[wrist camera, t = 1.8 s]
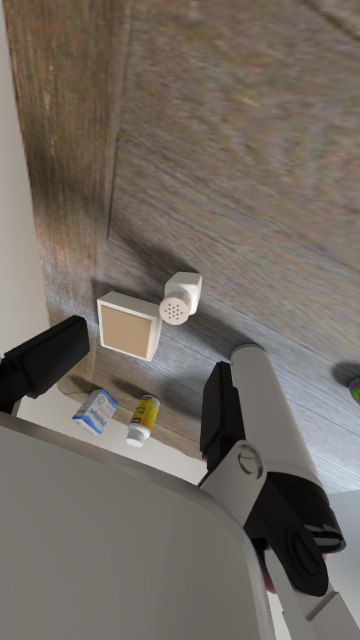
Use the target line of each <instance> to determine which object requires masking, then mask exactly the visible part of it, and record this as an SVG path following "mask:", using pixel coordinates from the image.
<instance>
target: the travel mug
mask: <svg viewBox="0 0 360 640" xmlns="http://www.w3.org/2000/svg"><path fill="white" fill-rule="evenodd" d="M230 358H231V367H232V376H233V385H234V387H236V388H237V389H238V392H239V398H240V404H241V410H242V417H243V423H244V429H245V435H246V441H248V442H250V443H252V444H253V445H254V446H255V447H256V448H257V449H258V450H259V452H260V453H261V455H262V457H263V459H264V461H265V464H266V468H267V476H268V478H269V479H270V480H271V482H272V483H273V484H274V486H275V487H276V488H277V490H278V491H279V492H280V494H281V495H282V496H283V498H284V499H285V500H286V502H287V503H288V504H289V506H290V507H291V508H292V510H293V511H294V512H295V514H296V515H297V516H298V518H299V519H300V520H301V522H302V523H303V524H304V526H305V527H306V528H307V530H308V531H309V532H310V534H311V535H312V537H313V538H314V540H315V541H316V543H317V545H318V547H319V549H320V551H321V553H322V554H332V553H336V552H339V551H342V550H343V549H344V548H345V547H346V542H345V540H344V537H343V535H342V532H341V530H340V527H339V525H338V522H337V520H336V517H335V515H334V512H333V511H332V509H331V508H330V507H329V500H328V498H327V496H326V492H325V489H324V486H323V484H322V483H321V481H320V478H319V475H318V472H317V470H316V468H315V465H314V463H313V461H312V458H311V456H310V454H309V451H308V449H307V446H306V444H305V442H304V439H303V437H302V435H301V432H300V430H299V428H298V425H297V423H296V421H295V418H294V416H293V414H292V411H291V409H290V406H289V404H288V402H287V399H286V397H285V395H284V392H283V390H282V388H281V385H280V383H279V381H278V378H277V376H276V374H275V371H274V369H273V366H272V364H271V362H270V359H269V357H268V355H267V352H266V351H265V350H264V349H263V348H262V347H261V346H258V345H256V344H242V345H240V346H238V347H236V348H235V349H234V350H233V351H232V352H231V356H230Z"/></svg>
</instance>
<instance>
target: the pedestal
mask: <svg viewBox="0 0 360 640" xmlns="http://www.w3.org/2000/svg"><path fill="white" fill-rule="evenodd" d="M97 304H98V315H99V326H100V337H101V346H104V347H107V348H110V349H113V350H116V351H119V352H122V353H125V354H128V355H131V356H134V357H137V358H140V359H143V360H146V361H149V362H150V361H151V359H152V357H153V355H154V353H155V352H156V350H157V347H158V342H159V336H160V331H161V326H162V321H163V318H162V317H161V315H160V312H159V307H160V305H157V304H153V303H150V302H147V301H144V300H140V299H137V298H134V297H130V296H127V295H124V294H121V293H117V292H114V291H111V292H110V293H108V294H106V295H104V296H102V297H100V298H99V299H97Z"/></svg>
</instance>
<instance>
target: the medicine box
mask: <svg viewBox="0 0 360 640" xmlns="http://www.w3.org/2000/svg"><path fill="white" fill-rule="evenodd" d="M117 406H118V403H117V402H116V401H115V400H114V399H113V398H112V397H111V396H110V395H109V394H108V393H107V392H106V391H105V390H104V389H98V390H94V391H93V392H92V394H91V395H90V396H89V397H88V399H87V400H86V401H85V402H84V404H83V405H82V406H81V408H80V409H79V410H78V411H77V413H76V414H75V415H74V416H73V418H72V419H73V420H74V421H75V422H76V423H78V424H79V425H80V426H82V427H83V428H84V429H85V430H87V431H88V432H89V433H90V434H92V435H100V434H101V433H102V432H103V430H104V428H105V427H106V425H107V423H108V421H109V420H110V418H111V416H112V415H113V413H114V411H115V410H116V408H117Z"/></svg>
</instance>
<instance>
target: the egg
mask: <svg viewBox="0 0 360 640" xmlns="http://www.w3.org/2000/svg"><path fill="white" fill-rule="evenodd" d="M349 390H350V393H351V395H352V397H353V398H354V400H355V401H356V402H357V403H358V404H359V405H360V377H359V378H356V379H354V380H352V381H351V382H350V385H349Z"/></svg>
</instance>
